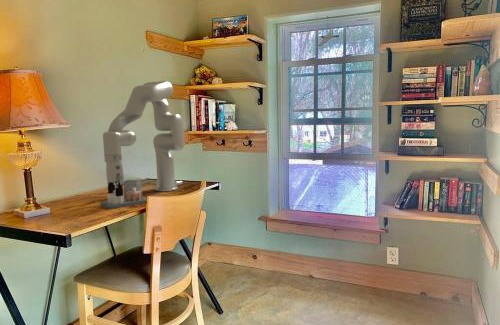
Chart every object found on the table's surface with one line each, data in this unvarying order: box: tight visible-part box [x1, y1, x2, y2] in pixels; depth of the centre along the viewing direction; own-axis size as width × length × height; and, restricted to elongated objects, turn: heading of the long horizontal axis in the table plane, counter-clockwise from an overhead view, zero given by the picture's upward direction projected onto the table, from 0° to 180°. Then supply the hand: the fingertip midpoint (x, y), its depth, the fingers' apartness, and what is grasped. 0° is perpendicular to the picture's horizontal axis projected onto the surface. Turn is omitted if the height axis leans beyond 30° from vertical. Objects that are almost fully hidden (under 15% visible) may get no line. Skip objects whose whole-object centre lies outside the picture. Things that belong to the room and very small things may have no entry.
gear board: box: [99, 188, 148, 210], centre depth 180 cm, size 20×11×7 cm, turn 130°
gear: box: [106, 193, 125, 204], centre depth 177 cm, size 7×7×4 cm
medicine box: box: [123, 179, 143, 198], centre depth 195 cm, size 8×4×9 cm, turn 71°
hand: (115, 194), depth 177 cm, fingers open, 9 cm apart
